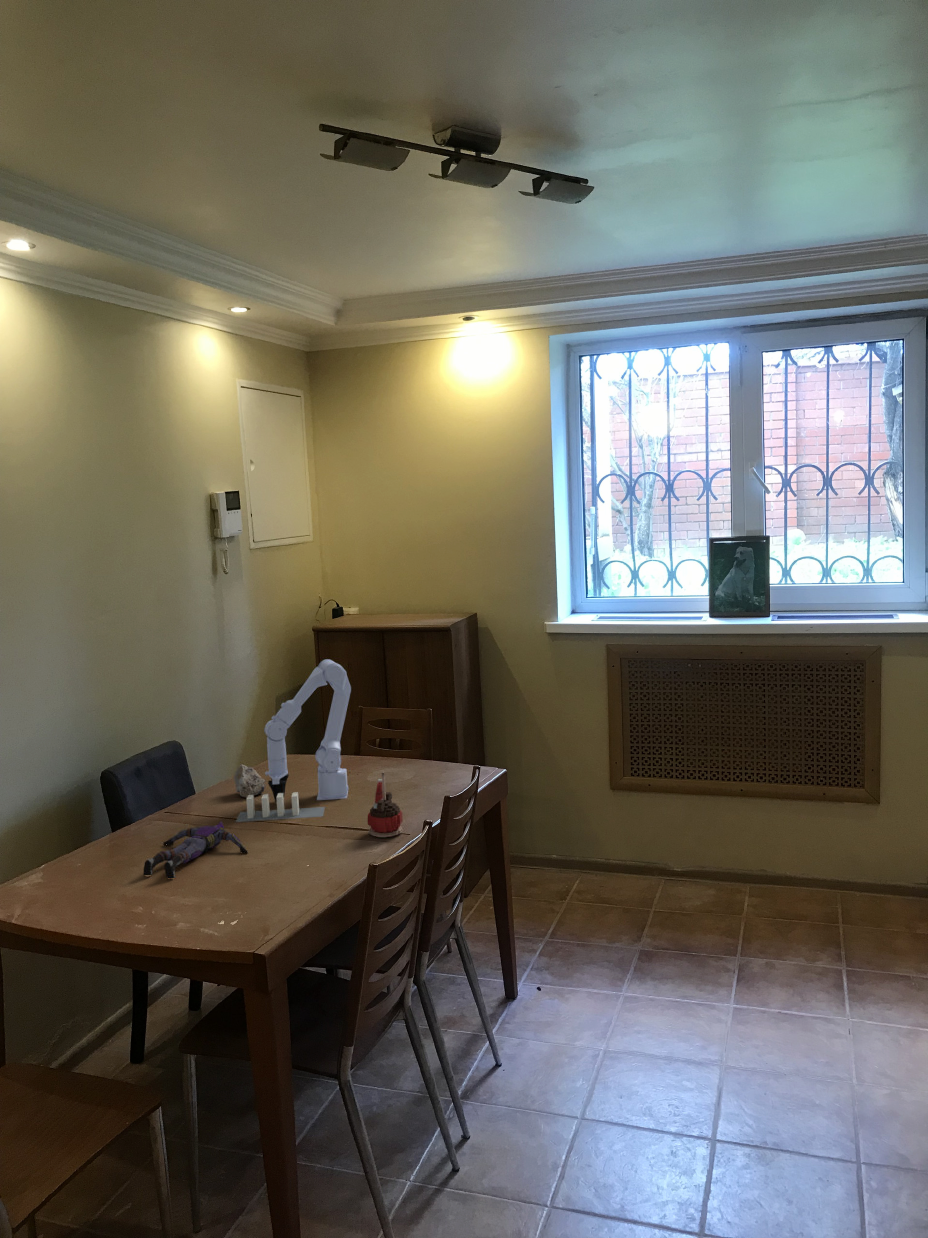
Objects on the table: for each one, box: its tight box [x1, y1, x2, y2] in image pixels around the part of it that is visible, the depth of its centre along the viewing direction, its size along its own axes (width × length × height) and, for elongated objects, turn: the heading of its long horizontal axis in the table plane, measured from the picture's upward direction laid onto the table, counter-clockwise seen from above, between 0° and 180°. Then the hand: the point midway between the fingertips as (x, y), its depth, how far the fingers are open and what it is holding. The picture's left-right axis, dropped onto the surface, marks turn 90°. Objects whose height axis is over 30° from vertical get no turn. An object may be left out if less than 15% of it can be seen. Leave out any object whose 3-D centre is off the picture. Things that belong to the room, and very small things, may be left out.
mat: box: [235, 806, 326, 823], centre depth 294 cm, size 26×9×1 cm, turn 94°
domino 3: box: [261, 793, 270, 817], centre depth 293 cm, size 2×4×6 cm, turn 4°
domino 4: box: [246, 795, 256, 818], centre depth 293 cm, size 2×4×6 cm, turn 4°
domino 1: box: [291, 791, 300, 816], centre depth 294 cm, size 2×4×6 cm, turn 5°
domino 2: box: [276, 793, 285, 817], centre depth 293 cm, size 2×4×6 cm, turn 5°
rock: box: [234, 764, 266, 799], centre depth 314 cm, size 9×12×10 cm
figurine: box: [143, 821, 249, 878], centre depth 261 cm, size 27×6×30 cm
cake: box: [367, 771, 404, 838], centre depth 273 cm, size 11×9×18 cm
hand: (279, 800), depth 304 cm, fingers closed on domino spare, 4 cm apart
